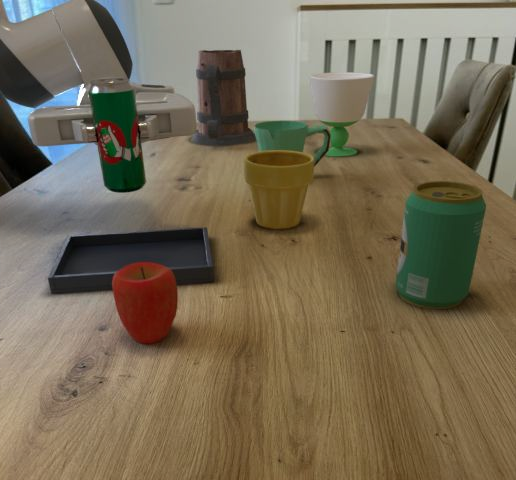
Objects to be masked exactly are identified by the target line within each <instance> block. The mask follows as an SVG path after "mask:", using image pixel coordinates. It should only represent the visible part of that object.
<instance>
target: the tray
mask: <svg viewBox="0 0 516 480" xmlns="http://www.w3.org/2000/svg"><path fill="white" fill-rule="evenodd" d="M211 251H212V250H211V243H210V238H209V231H208V227H207V226H203V227H202V226H201V227H184V228H169V229H153V230H137V231H123V232H120V231H119V232H106V233H105V232H104V233H88V234H73V235H67V236H66V237H65V240H64V242H63V244H62V246H61V249H60V251H59V253H58V256H57V257H56V259H55V262H54V263H53V266H52V268H51V270H50V273H49V275H48V276H47V280H48V285H49V289H50V294H51V295H52V294H53V295H54V294H55V295H56V294H69V293H71V294H72V293H83V292H97V291H98V292H99V291H111V290H112V291H113V287H112V281H113V276H114V274H115V273H116V272H117V271H119V270H121V269H122V268H124V267H125V266H127V265H130V264H133V263H139V262H152V263H156V264H160V265H162V266H165V267H167V268H170V269H171V271H172V272H173V274H174V276H175V280H176V285H177V286H180V285H192V284H193V285H194V284H208V283H215V273H214V264H213V263H214V262H213V256H212V252H211Z"/></svg>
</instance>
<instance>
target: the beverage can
mask: <svg viewBox="0 0 516 480" xmlns="http://www.w3.org/2000/svg"><path fill="white" fill-rule="evenodd" d="M483 192H484V191H483V190H482V189H481V188H479V187H478V186H476V185H472V184H468V183H464V182H458V181H447V180H433V181H425V182H420V183H417V184H415V185H414V186H413V188H412V191H411V192H410V194H409V195H408V196H407V198H406V199H405V203H404V204H405V205H404V212H403V213H404V214H403V221H402V229H401V238H400V246H399V253H398V261H397V270H396V278H395V287H396V289H397V291H398V295H399V297H400V299H402V300H403V301H404V302H406V303H408V304H410V305H412V306H414V307H419V308H423V309H428V310H429V309H430V310H445V309H452V308H454V307H457V306H459V305H461V304H462V303H463V300H464V299H465V298H466V297H468V295H469V293H470V288H471V283H472V280H473V275H474V268H475V263H476V259H477V254H478V250H479V244H480V240H481V235H482V229H483V224H484V219H485V215H486V209H487V204H486V201H485V199H484V197H483Z"/></svg>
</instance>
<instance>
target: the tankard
mask: <svg viewBox="0 0 516 480" xmlns="http://www.w3.org/2000/svg"><path fill="white" fill-rule="evenodd" d="M246 74H247V73H246V68H245V66H244V61H243V55H242V50H241V49H213V50H207V49H206V50H205V49H203V50H198V51H197V64H196V69H195V78H196V83H197V84H196V86H197V87H196V90H197V91H196V92H197V112H196V121H197V123H198V124H197V125H198V126H197V127H198V129H197V131H196V134H195V135H193V136H192V137H191V139H190V141H191V142H192V143H193V144H198V145H204V146H216V147H217V146H218V147H219V146H221V147H223V146H238V145H244V144H248V143H252V142H254V141H257V140H256V136H255V133H254V131H253V130H252V128H250V127H249V116H250V115H249V110H248V107H247V106H248V105H247V92H246V91H247V89H246Z"/></svg>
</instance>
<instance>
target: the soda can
mask: <svg viewBox="0 0 516 480" xmlns="http://www.w3.org/2000/svg"><path fill="white" fill-rule="evenodd" d="M129 82H131V79H127V78H105V79H96V80H92V81H90V84H91V87H90V89H89V92H88V93H89V99H90V105H91V111H92V117H93V123H94V126H95V131H96V137H97V145H96V147H97V151H98V157H99V165H100V169H101V175H102V182H103V186H104V187H105V188H106V189H107V190H108V191H109V192H112V193H116V194H125V193H127V194H128V193H132V192H133V193H134V192H137V191H141V189H143V188H144V187H145V185H146V183H147V177H146V170H145V169H146V168H145V162H144V153H143V146H142V143H141V139H140V130H139V122H138V114H137V106H136V98H135V90H134V89H133V87H132V86H131V84H130V83H129Z"/></svg>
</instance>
